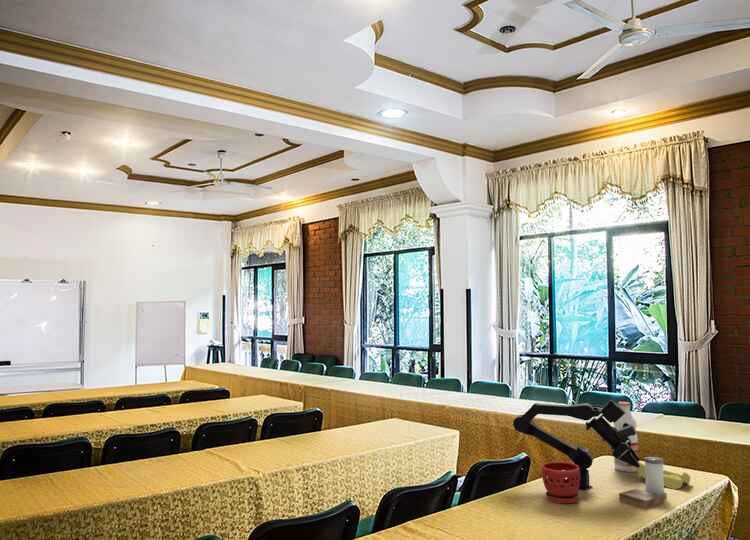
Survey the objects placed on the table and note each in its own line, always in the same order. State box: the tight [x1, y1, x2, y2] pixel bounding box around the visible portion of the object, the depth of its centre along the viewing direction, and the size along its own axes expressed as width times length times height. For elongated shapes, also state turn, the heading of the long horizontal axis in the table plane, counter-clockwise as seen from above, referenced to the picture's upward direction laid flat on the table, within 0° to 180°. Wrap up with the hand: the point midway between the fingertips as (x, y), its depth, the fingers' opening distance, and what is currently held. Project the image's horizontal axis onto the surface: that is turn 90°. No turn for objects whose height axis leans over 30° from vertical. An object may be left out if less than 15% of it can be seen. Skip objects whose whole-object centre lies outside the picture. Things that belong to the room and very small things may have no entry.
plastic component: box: [636, 461, 691, 490], centre depth 230 cm, size 20×7×10 cm
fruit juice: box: [612, 401, 639, 473], centre depth 249 cm, size 9×9×28 cm
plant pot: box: [541, 461, 581, 505], centre depth 209 cm, size 13×13×12 cm
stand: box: [618, 488, 664, 509], centre depth 206 cm, size 10×10×2 cm
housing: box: [643, 456, 668, 499], centre depth 214 cm, size 8×8×13 cm
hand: (639, 463), depth 216 cm, fingers open, 9 cm apart
